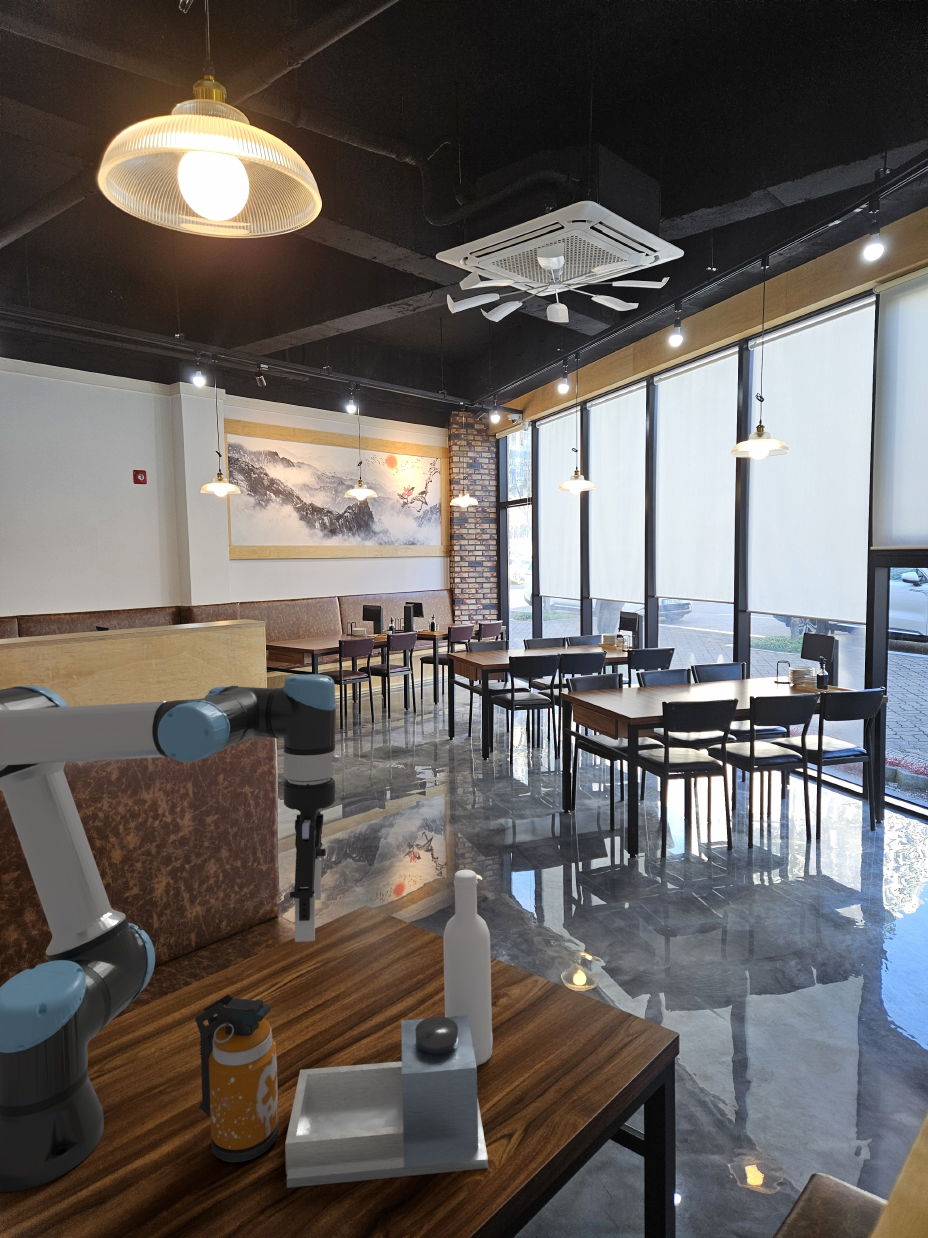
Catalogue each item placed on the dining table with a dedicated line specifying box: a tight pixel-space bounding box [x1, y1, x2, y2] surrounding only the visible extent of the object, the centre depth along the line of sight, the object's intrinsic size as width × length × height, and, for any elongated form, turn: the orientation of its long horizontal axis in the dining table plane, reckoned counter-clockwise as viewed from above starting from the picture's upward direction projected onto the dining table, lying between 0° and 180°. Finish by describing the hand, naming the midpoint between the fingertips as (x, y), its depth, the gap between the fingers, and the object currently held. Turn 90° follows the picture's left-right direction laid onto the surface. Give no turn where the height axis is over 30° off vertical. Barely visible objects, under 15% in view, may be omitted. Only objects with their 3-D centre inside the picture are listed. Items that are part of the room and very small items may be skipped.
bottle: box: [442, 869, 494, 1067], centre depth 116 cm, size 8×8×30 cm
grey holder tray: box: [284, 1015, 489, 1189], centre depth 99 cm, size 26×16×14 cm, turn 96°
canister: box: [194, 994, 279, 1163], centre depth 98 cm, size 9×11×20 cm
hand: (308, 918), depth 106 cm, fingers open, 13 cm apart
